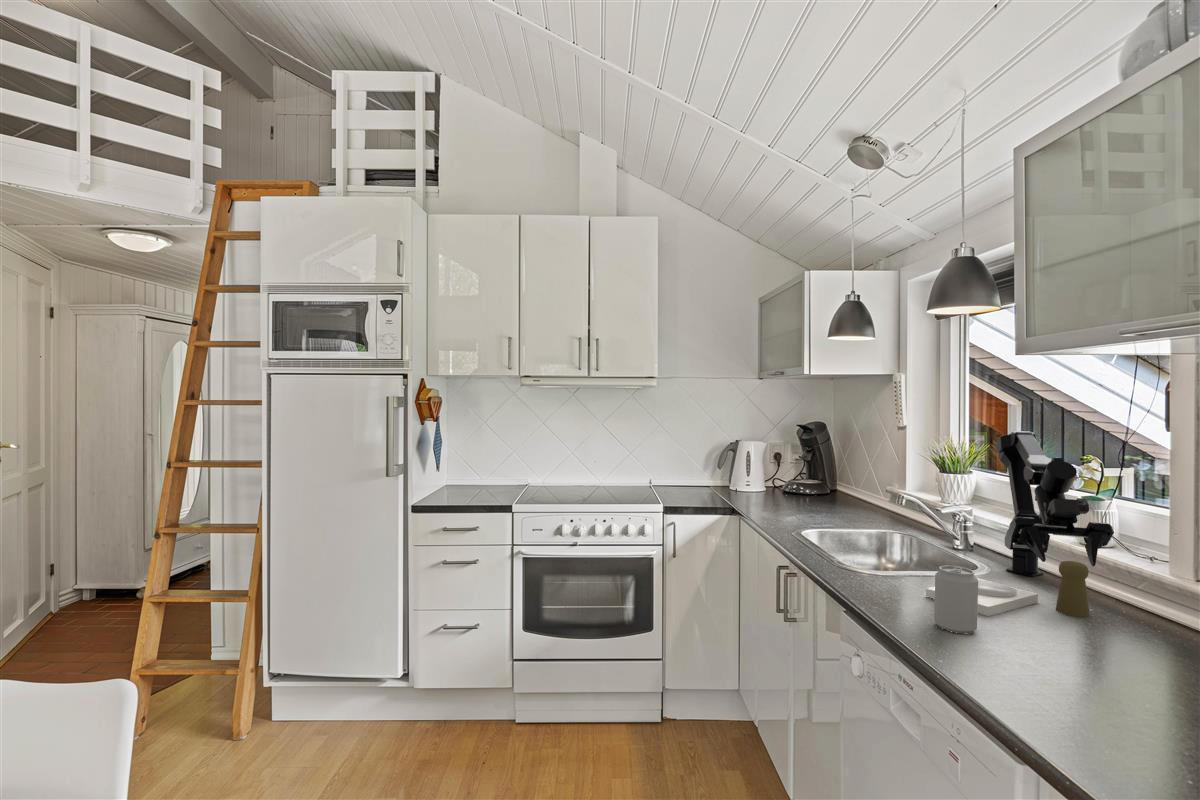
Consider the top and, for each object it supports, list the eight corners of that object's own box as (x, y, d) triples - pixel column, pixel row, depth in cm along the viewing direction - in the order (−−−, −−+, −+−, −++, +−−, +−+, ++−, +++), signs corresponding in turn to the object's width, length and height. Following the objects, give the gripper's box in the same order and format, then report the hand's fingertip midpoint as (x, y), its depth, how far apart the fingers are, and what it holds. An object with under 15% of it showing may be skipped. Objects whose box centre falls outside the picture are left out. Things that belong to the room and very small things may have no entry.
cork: (1096, 618, 132) (1097, 566, 132) (1064, 616, 133) (1065, 564, 133) (1080, 609, 138) (1081, 559, 138) (1049, 606, 139) (1050, 557, 139)
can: (928, 628, 125) (930, 568, 124) (940, 618, 130) (941, 561, 130) (971, 638, 119) (972, 576, 119) (981, 628, 125) (982, 569, 124)
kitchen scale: (975, 585, 154) (976, 575, 154) (1038, 602, 142) (1038, 591, 142) (925, 597, 144) (926, 585, 144) (988, 616, 132) (988, 604, 132)
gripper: (1014, 482, 146) (1027, 538, 136) (1111, 487, 140) (1133, 547, 129) (1004, 510, 154) (1016, 566, 143) (1096, 516, 147) (1115, 575, 137)
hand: (1068, 563), depth 138 cm, fingers open, 9 cm apart
